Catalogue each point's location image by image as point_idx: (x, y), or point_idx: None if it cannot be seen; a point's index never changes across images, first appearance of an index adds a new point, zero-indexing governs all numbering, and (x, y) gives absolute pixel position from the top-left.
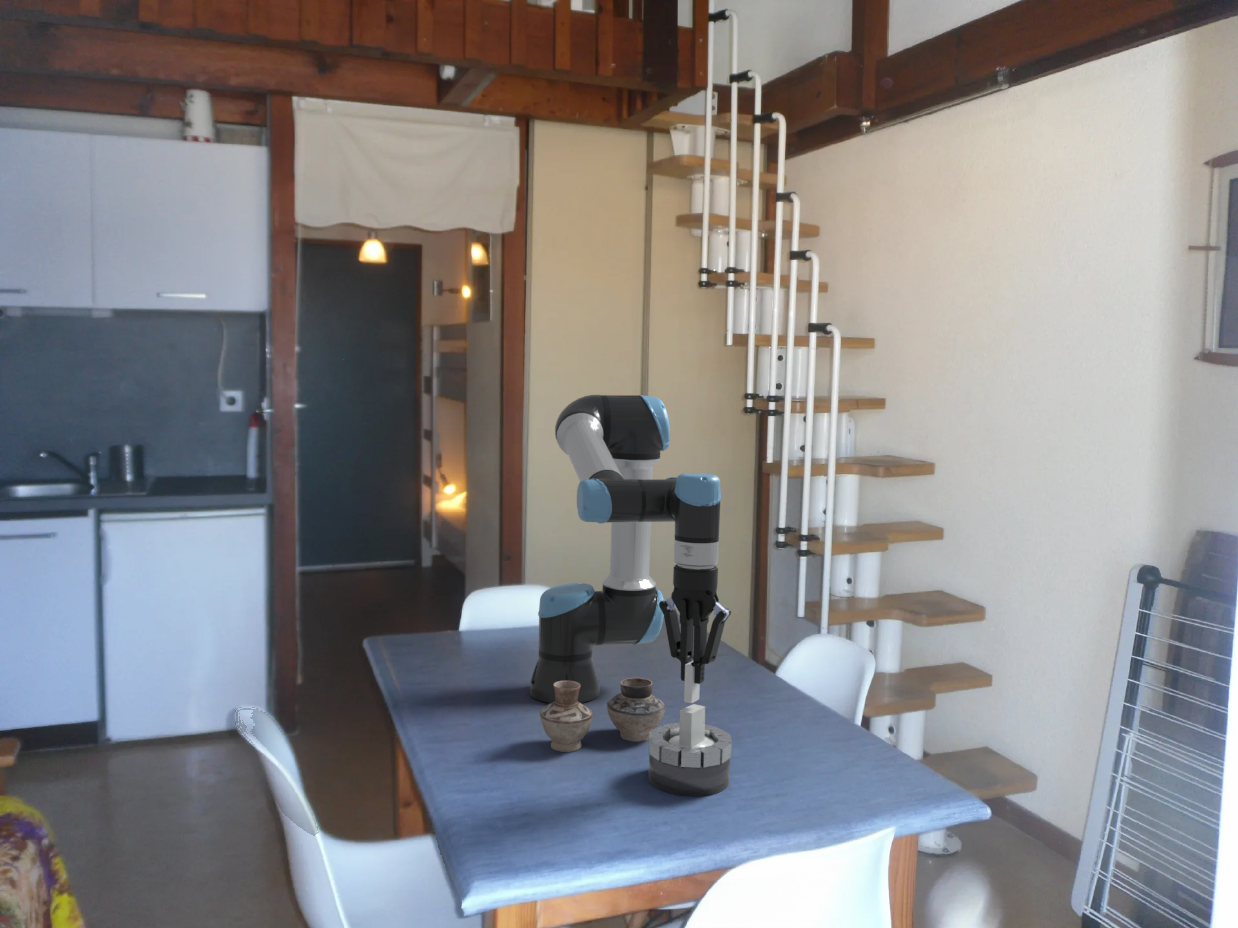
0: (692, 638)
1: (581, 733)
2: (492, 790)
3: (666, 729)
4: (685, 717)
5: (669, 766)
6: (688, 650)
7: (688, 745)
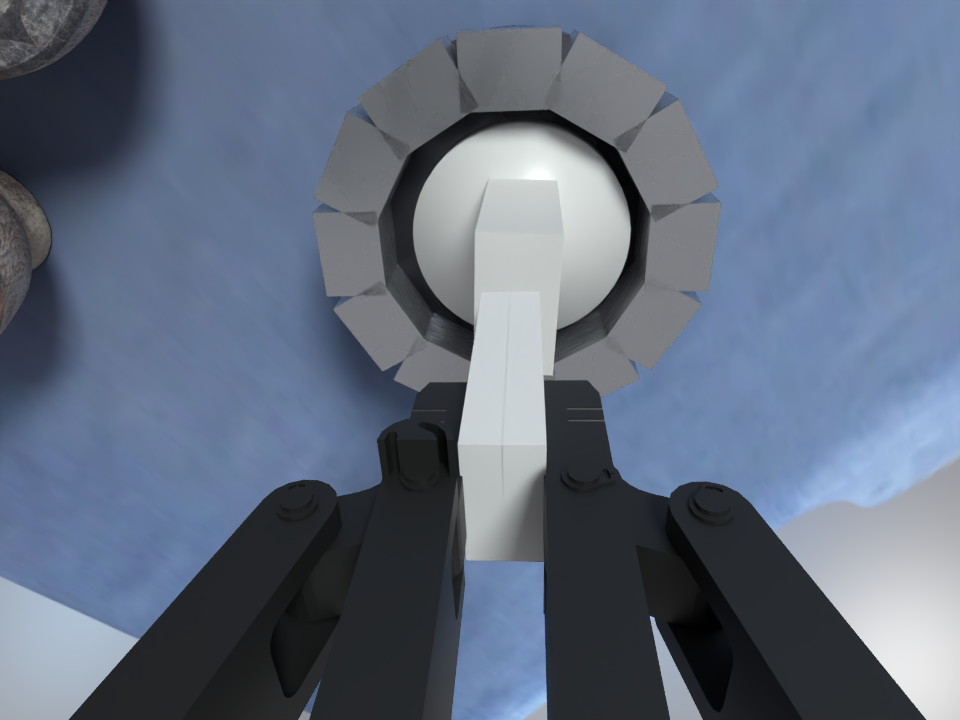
0: (433, 691)
1: (28, 263)
2: (159, 553)
3: (368, 236)
4: None
5: None
6: (454, 629)
7: None
